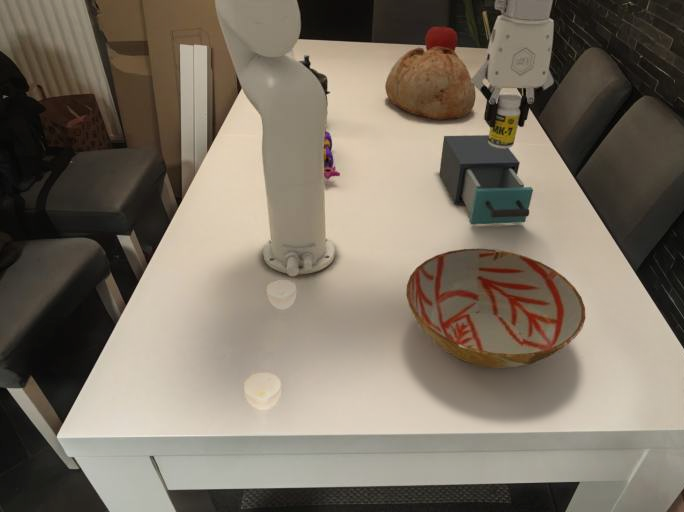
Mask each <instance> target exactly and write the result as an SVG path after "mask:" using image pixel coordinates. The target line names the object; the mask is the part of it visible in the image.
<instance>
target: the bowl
mask: <svg viewBox="0 0 684 512" xmlns="http://www.w3.org/2000/svg"><path fill="white" fill-rule="evenodd" d="M406 299H407V303H408V305H409V308H410V309H411V312H412V315H413V316H414V317H415V319H416V321H417V322H418V325H419V326H420V327H421V329H422V331H423V332H424V333H425V334H426V335H427V336H428V337H429V338H430V339H431V340H432V341H433V342H434V344H436V345H437V346H438V347H440V348H441V349H443V350H444V351H445V352H446V353H448V354H449V355H452V356H454V357H455V358H457V359H459V360H461V361H463V362H466V363H469V364H471V365H476V366H480V367H485V368H492V369H493V368H495V369H505V368H507V369H508V368H516V367H517V368H518V367H522V366H526V365H531V364H535V363H536V362H539V361H541V360H545V359H547V358H548V357H551V356H552V355H554V354H555V353H558V352H559V351H560V350H561V349H562V348H564V347H566V346H567V345H568V344H570V343H571V342H572V341H573V340H574V339H576V338H577V336H578V335H579V333H580V332H581V331H582V330H583V327H584V325H585V322H586V307H585V303H584V301H583V298H582V296H581V295H580V293H579V291H578V290H577V289H576V287H575V286H574V285H573V284H572V283H571V281H569V280H568V279H567V278H566V277H565V276H563V275H562V274H561V273H559V272H558V271H557V270H555V269H554V268H552V267H550V266H548V265H546V264H544V263H542V262H540V261H538V260H535V259H533V258H530V257H528V256H525V255H523V254H519V253H514V252H511V251H506V250H501V249H500V250H499V249H495V248H494V249H493V248H492V249H491V248H463V249H456V250H449V251H447V252H443V253H440V254H437V255H434V256H433V257H431V258H428V259H426V260H425V261H423V262H422V263H421V264H419V265H418V266H417V267H416V268H415V269H414V271H412V273H411V274H410V276H409V278H408V281H407V284H406Z"/></svg>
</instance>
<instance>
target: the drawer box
mask: <svg viewBox="0 0 684 512" xmlns="http://www.w3.org/2000/svg"><path fill="white" fill-rule="evenodd" d="M488 137H489V134H485V135H483V134H481V135H480V134H479V135H474V134H473V135H444V136H443V142H442V150H441V158H440V165H439V176H440V178H441V180H442V182H443V184H444V187H445V188H446V190H447V192H448V194H449V196H450V198H451V200H452V203H454V205H466V204H465V203H464V201H463V199H462V197H461V195H460V193H461V186H462V180H463V174H464V168H478V167H511V168H512V169H513V171H514V172H515V173H516V175H517V176H518V172H519V168H520V163H521V162H520V160H519V159H517V157H516V156H515V154H514V153H513V152H512V151H511V149H510V148H496V147H493V146H491V145H490V144H489V143H488Z"/></svg>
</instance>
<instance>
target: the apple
mask: <svg viewBox="0 0 684 512" xmlns="http://www.w3.org/2000/svg"><path fill="white" fill-rule="evenodd" d="M424 41H425V49H426V51H427V50H429V49H431V48H433V47H436V46H440V47H443V48H448V49H451V50H453V51H455V52H456V48H457V44H458V41H459V39H458V34H457V32H456V31H455V30H454V29H453V28H451V27H446V26H433V27H430V29H428V30H427V32H426V34H425V37H424Z"/></svg>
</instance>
